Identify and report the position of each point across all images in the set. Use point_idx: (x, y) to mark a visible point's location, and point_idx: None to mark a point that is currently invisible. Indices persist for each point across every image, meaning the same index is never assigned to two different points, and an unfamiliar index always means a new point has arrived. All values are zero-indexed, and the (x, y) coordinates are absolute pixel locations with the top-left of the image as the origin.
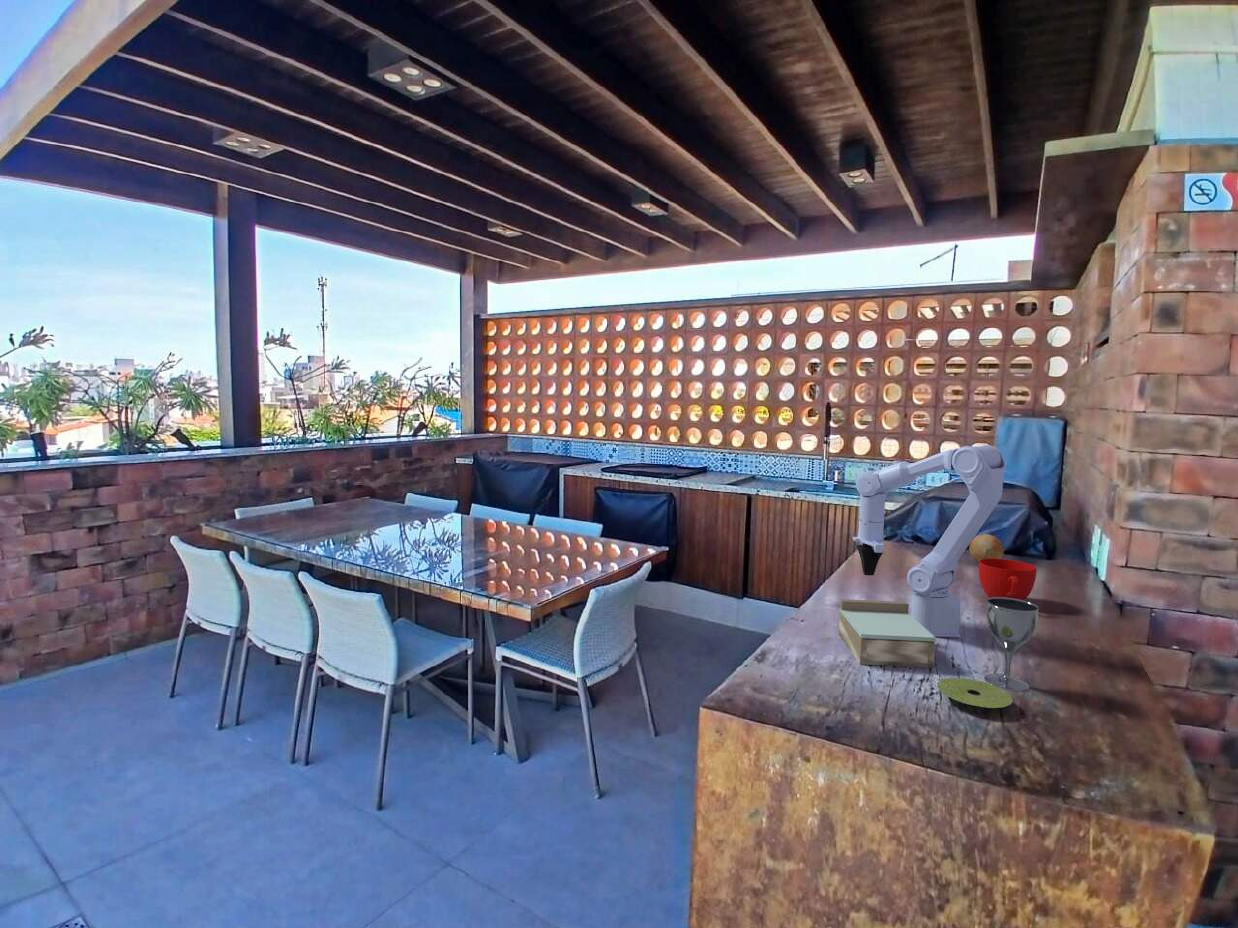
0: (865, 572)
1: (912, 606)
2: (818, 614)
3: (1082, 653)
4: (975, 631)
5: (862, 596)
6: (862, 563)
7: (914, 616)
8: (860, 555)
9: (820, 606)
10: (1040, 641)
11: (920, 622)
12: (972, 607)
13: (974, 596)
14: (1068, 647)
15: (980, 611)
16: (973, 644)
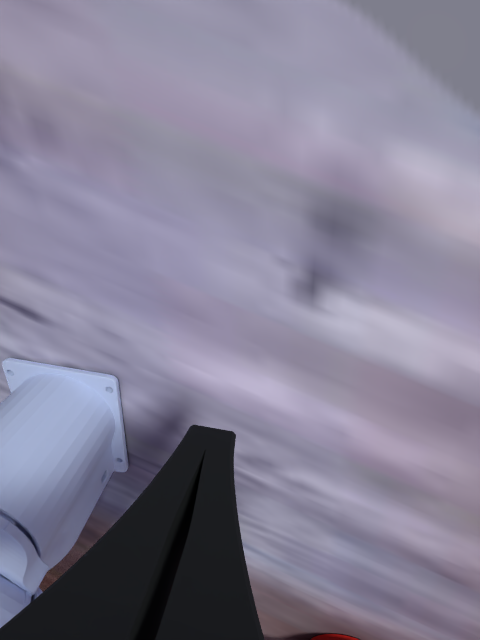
0: (181, 442)
1: (6, 431)
2: (182, 4)
3: None
4: (103, 500)
5: (472, 386)
6: (196, 504)
7: (12, 404)
8: (205, 602)
9: (341, 80)
10: (75, 557)
11: (4, 400)
12: (295, 585)
13: (387, 630)
14: (56, 571)
15: (262, 581)
16: None
